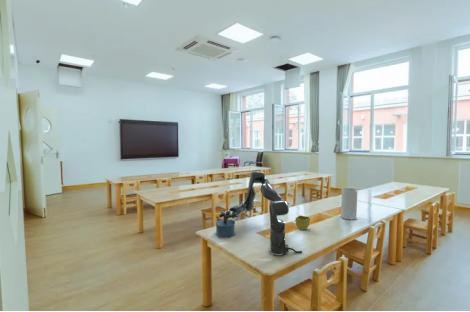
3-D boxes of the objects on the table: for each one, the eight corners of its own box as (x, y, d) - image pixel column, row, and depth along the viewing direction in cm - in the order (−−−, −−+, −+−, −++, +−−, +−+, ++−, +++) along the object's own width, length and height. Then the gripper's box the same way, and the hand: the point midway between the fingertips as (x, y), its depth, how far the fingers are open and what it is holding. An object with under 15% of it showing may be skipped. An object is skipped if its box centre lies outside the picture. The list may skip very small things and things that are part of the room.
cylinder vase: (359, 219, 216) (360, 191, 214) (345, 220, 215) (346, 191, 213) (351, 214, 229) (352, 187, 226) (338, 215, 228) (339, 188, 225)
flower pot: (299, 225, 203) (300, 215, 203) (310, 228, 198) (310, 217, 197) (295, 229, 197) (295, 217, 196) (305, 231, 191) (305, 220, 190)
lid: (236, 221, 193) (236, 210, 192) (233, 228, 179) (233, 217, 178) (218, 220, 195) (217, 210, 194) (213, 227, 181) (213, 216, 180)
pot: (235, 231, 193) (235, 220, 192) (232, 238, 180) (232, 227, 179) (218, 230, 195) (218, 219, 194) (214, 237, 182) (214, 226, 181)
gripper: (228, 204, 202) (215, 210, 188) (243, 207, 193) (230, 213, 180) (228, 213, 202) (215, 219, 188) (243, 217, 194) (231, 223, 180)
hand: (223, 216), depth 184 cm, fingers open, 5 cm apart
